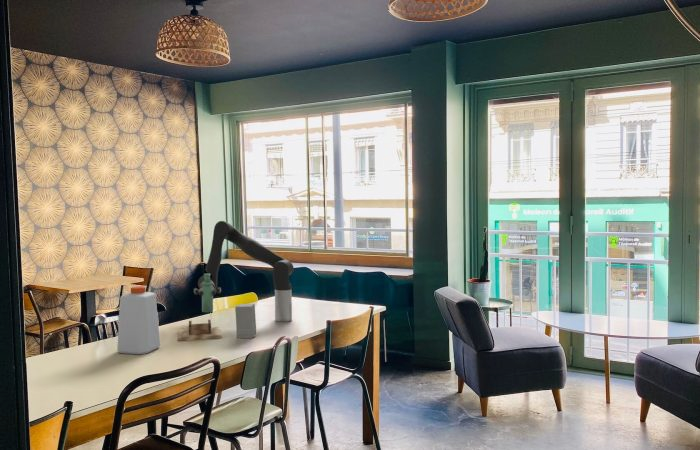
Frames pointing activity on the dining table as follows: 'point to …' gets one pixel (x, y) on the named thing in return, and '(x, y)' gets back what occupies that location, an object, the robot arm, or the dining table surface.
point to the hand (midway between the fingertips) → (207, 293)
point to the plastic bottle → (138, 322)
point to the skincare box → (245, 320)
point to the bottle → (207, 294)
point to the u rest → (199, 332)
